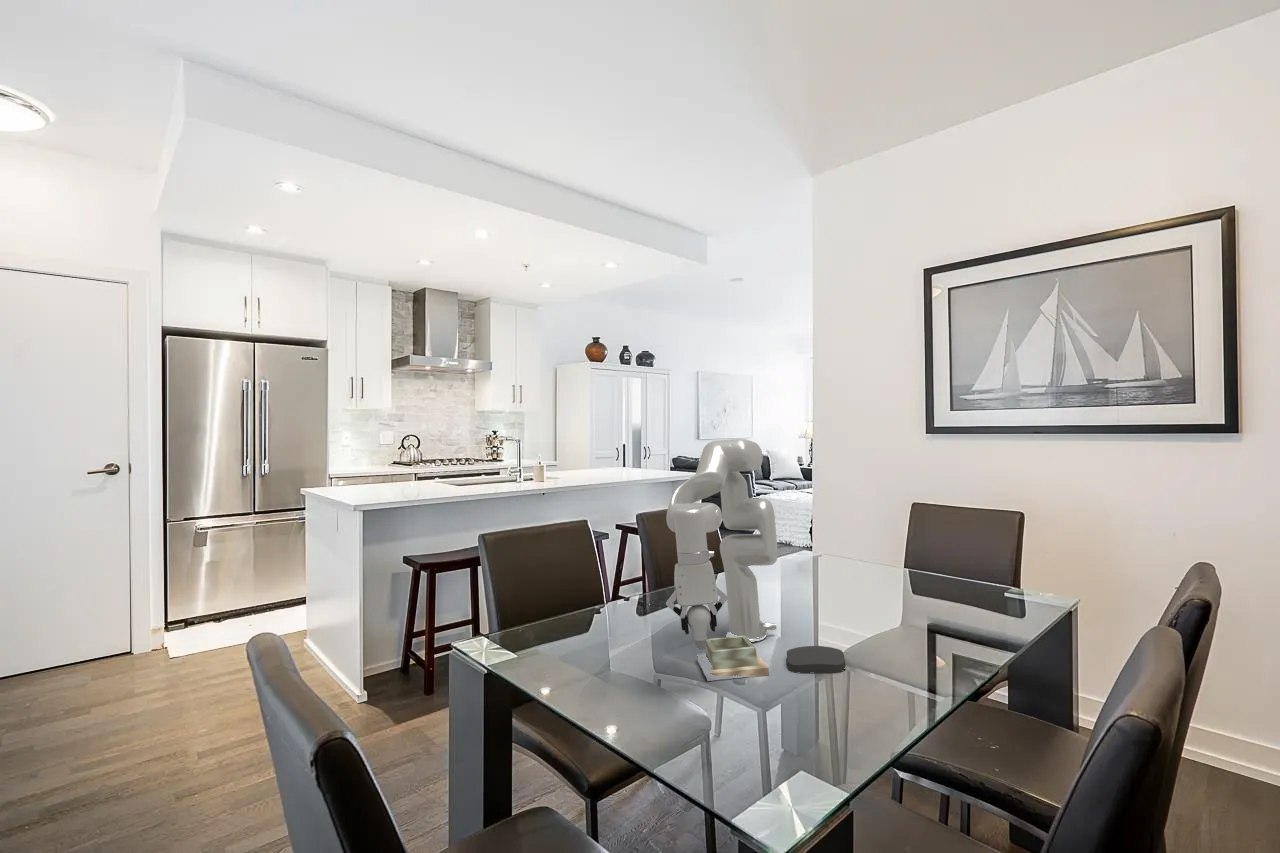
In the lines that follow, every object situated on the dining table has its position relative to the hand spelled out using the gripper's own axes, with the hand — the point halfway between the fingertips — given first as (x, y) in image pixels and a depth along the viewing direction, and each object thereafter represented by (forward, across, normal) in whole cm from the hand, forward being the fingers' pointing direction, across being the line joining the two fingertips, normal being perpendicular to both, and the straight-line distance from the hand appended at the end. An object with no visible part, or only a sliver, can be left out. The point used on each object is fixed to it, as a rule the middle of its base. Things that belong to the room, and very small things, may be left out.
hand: (699, 630), depth 152 cm
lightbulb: (+5, 0, 0) cm, 5 cm away
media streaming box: (+16, -32, -10) cm, 37 cm away
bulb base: (+15, -10, -13) cm, 22 cm away
